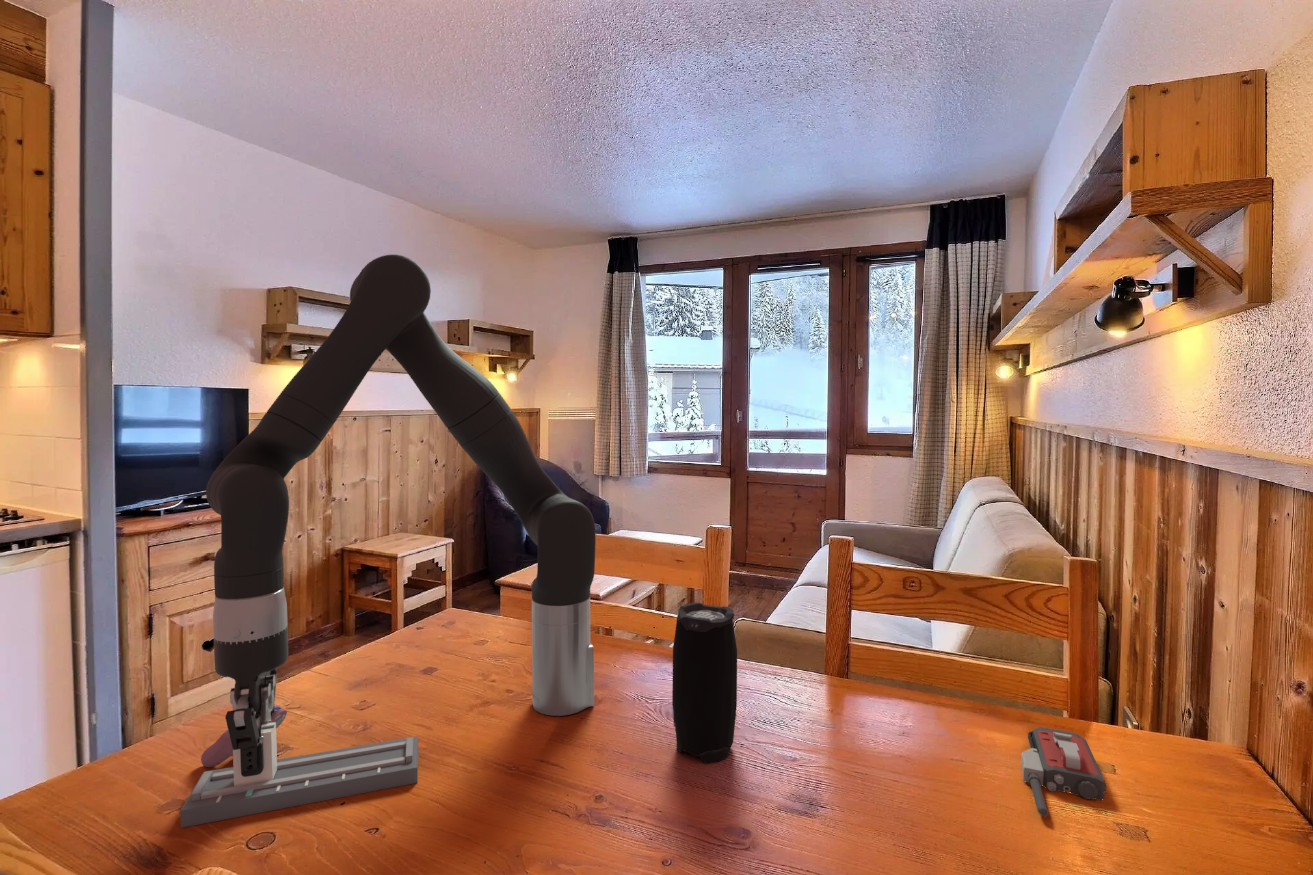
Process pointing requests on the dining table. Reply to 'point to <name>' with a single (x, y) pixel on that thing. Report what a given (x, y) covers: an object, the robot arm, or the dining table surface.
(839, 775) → the dining table surface
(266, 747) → the fader tab
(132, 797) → the dining table surface
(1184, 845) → the dining table surface
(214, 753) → the video game controller
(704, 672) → the portable speaker
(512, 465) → the robot arm
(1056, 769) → the walkie-talkie
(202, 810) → the fader console
